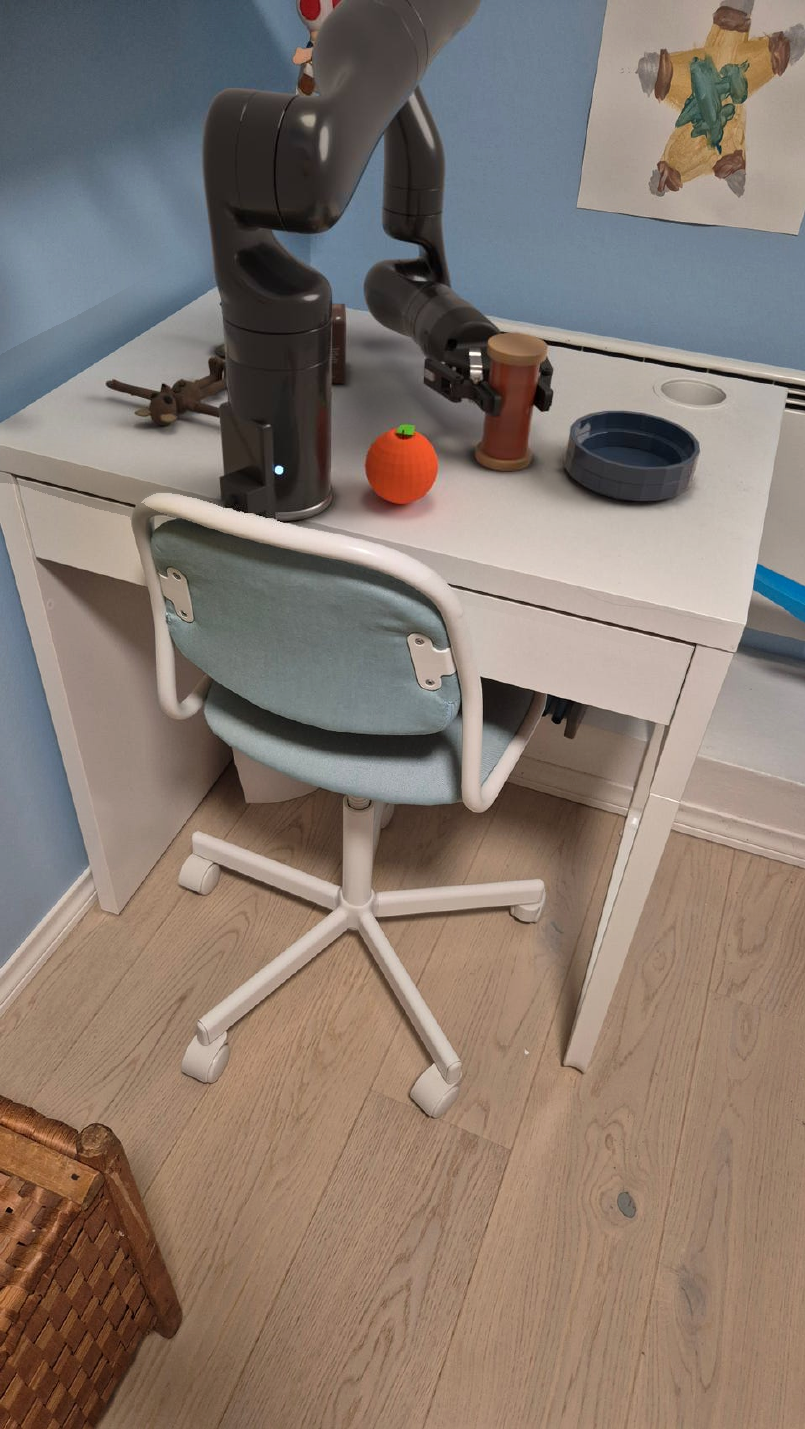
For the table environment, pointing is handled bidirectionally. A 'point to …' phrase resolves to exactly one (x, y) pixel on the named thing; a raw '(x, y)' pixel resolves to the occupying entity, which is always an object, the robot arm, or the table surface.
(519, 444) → the spool
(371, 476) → the clementine
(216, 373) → the bear figurine
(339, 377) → the box
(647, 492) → the bowl
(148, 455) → the table surface
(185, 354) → the table surface
